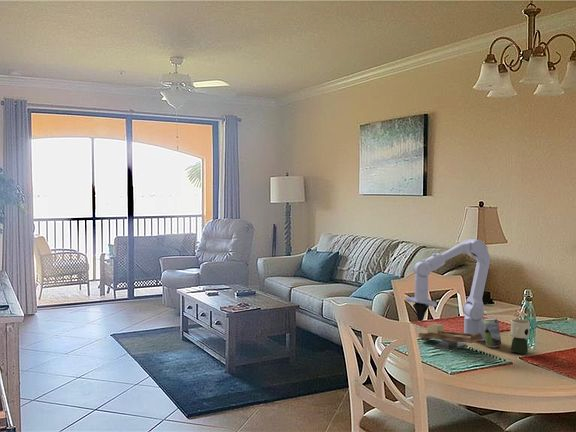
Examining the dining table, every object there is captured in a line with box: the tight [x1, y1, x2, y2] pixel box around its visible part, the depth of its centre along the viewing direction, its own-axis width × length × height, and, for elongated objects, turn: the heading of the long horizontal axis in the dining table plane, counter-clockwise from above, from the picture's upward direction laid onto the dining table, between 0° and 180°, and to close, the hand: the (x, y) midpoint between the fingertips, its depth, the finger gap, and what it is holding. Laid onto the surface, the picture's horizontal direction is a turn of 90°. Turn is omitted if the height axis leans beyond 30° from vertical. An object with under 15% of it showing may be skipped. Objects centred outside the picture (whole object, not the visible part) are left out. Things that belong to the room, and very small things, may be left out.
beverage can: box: [483, 317, 502, 348], centre depth 235 cm, size 6×7×12 cm
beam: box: [418, 330, 483, 344], centre depth 235 cm, size 25×9×4 cm, turn 42°
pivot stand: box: [432, 340, 468, 352], centre depth 235 cm, size 8×13×3 cm, turn 132°
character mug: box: [510, 318, 531, 355], centre depth 226 cm, size 11×7×13 cm, turn 147°
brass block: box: [426, 323, 445, 335], centre depth 240 cm, size 5×5×4 cm
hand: (420, 320), depth 245 cm, fingers closed
